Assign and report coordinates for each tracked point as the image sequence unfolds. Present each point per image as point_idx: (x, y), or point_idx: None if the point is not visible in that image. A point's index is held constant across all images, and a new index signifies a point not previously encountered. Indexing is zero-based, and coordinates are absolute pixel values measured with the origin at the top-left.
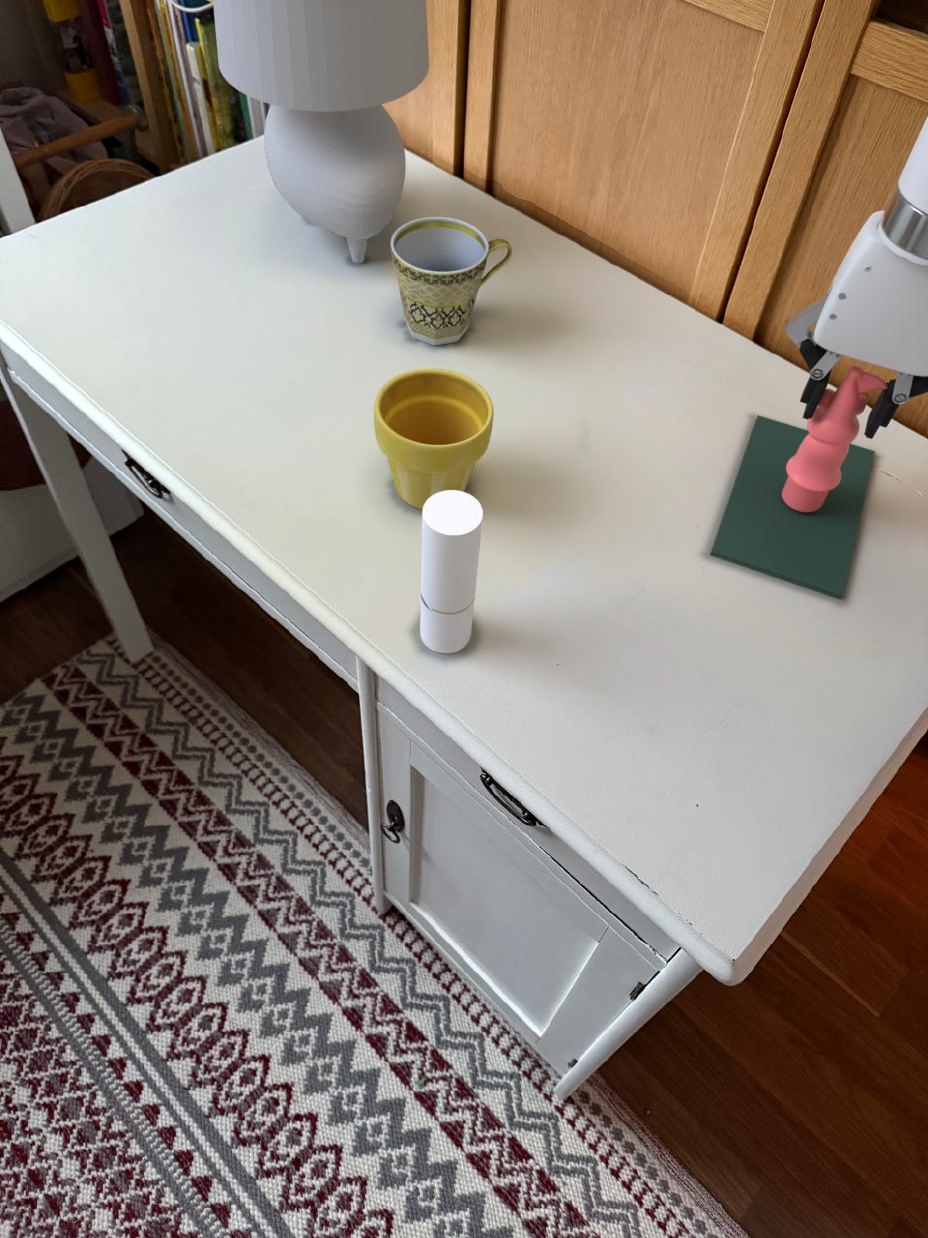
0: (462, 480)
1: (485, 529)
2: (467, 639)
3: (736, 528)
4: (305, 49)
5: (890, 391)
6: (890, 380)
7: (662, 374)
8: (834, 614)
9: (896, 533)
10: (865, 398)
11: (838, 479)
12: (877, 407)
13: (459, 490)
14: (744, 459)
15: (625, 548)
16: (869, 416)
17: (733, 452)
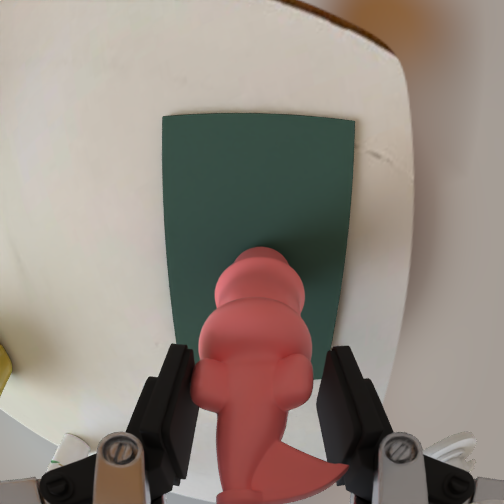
0: (1, 387)
1: (36, 382)
2: (88, 451)
3: (194, 344)
4: None
5: (348, 489)
6: (364, 436)
7: (41, 106)
8: (316, 389)
9: (387, 263)
10: (305, 401)
11: (300, 310)
12: (331, 438)
13: (6, 377)
14: (166, 224)
15: (114, 382)
16: (327, 370)
17: (151, 205)
